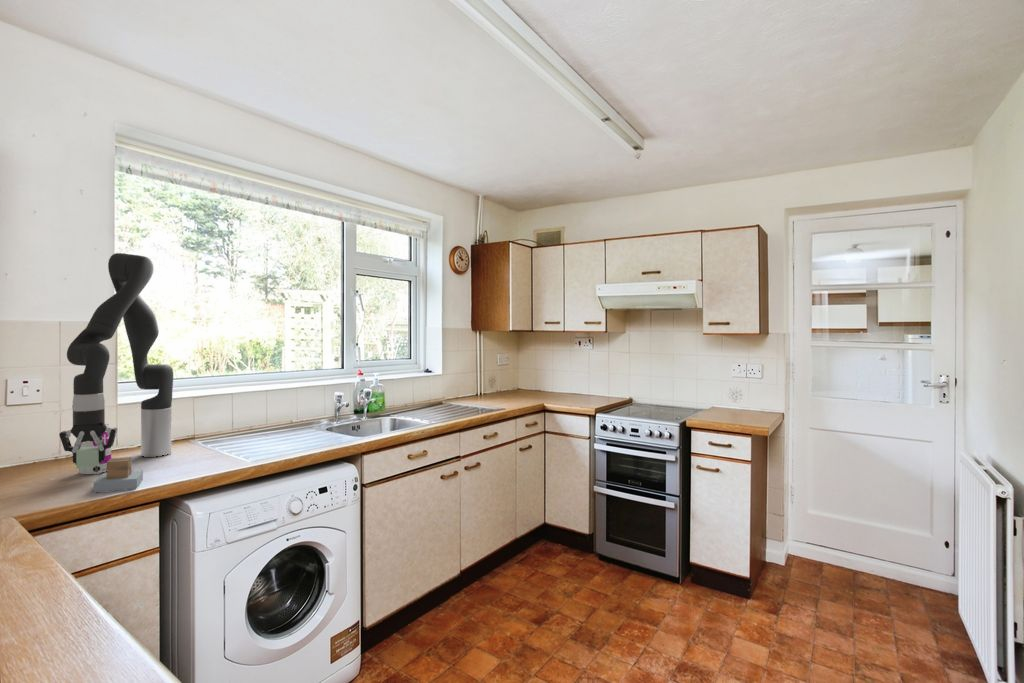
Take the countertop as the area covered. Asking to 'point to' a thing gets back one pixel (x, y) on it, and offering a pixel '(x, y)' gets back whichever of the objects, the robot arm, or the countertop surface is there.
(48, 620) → the countertop surface
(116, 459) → the walnut cube
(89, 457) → the sage cube
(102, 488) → the slate base
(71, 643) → the countertop surface
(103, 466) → the supplement can
